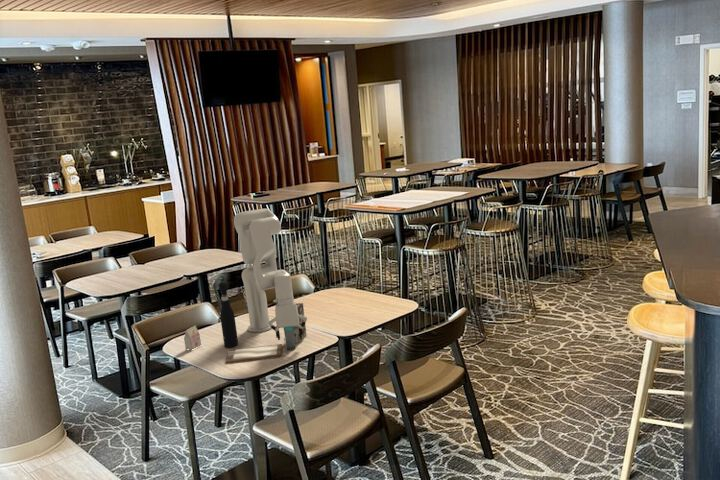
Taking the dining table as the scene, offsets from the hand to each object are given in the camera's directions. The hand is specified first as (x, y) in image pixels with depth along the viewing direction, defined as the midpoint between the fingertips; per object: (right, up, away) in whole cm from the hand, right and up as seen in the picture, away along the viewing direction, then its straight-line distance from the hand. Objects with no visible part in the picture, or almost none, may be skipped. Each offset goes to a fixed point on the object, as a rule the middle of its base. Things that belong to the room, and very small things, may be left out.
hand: (289, 337), depth 297 cm
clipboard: (-15, -7, -1) cm, 17 cm away
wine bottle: (-28, -6, +13) cm, 32 cm away
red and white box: (-47, -7, +15) cm, 49 cm away
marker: (0, -5, +1) cm, 5 cm away
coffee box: (+2, -3, +13) cm, 14 cm away
